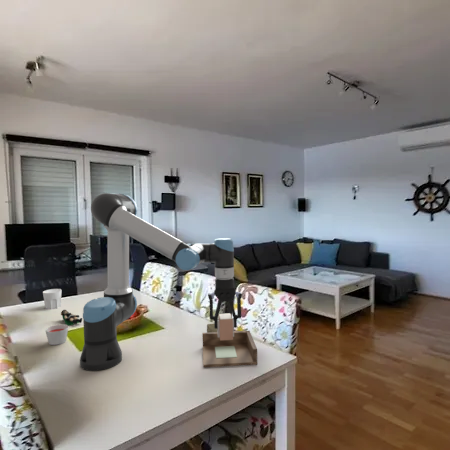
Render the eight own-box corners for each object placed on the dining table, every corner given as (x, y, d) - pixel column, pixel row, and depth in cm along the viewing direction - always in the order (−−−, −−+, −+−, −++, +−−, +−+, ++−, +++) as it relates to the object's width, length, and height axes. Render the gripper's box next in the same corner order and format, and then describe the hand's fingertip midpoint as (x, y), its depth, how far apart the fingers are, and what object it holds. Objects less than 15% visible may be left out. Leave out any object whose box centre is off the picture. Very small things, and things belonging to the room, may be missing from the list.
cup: (50, 304, 202) (50, 288, 202) (65, 305, 201) (65, 289, 200) (39, 309, 192) (38, 292, 192) (55, 310, 191) (54, 293, 190)
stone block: (212, 343, 142) (212, 332, 141) (206, 333, 153) (206, 323, 152) (225, 341, 143) (225, 330, 143) (218, 332, 154) (218, 321, 154)
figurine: (71, 321, 162) (55, 310, 170) (70, 331, 163) (55, 320, 171) (85, 316, 168) (70, 306, 177) (85, 327, 169) (69, 316, 177)
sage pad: (216, 358, 125) (216, 357, 125) (214, 347, 135) (214, 346, 135) (237, 357, 125) (237, 356, 125) (234, 346, 135) (234, 345, 135)
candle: (42, 342, 145) (42, 328, 144) (64, 336, 151) (63, 323, 151) (50, 348, 138) (49, 333, 138) (72, 341, 145) (71, 327, 145)
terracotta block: (218, 333, 133) (218, 313, 132) (231, 333, 133) (230, 313, 133) (220, 340, 126) (219, 319, 125) (233, 339, 126) (232, 318, 126)
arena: (203, 367, 120) (203, 351, 120) (202, 346, 138) (202, 332, 138) (257, 364, 122) (257, 348, 121) (249, 344, 139) (249, 330, 139)
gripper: (201, 280, 124) (203, 340, 125) (248, 278, 125) (249, 338, 127) (201, 276, 131) (202, 333, 133) (245, 274, 133) (246, 331, 134)
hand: (225, 335), depth 130 cm, fingers closed on terracotta block, 5 cm apart
